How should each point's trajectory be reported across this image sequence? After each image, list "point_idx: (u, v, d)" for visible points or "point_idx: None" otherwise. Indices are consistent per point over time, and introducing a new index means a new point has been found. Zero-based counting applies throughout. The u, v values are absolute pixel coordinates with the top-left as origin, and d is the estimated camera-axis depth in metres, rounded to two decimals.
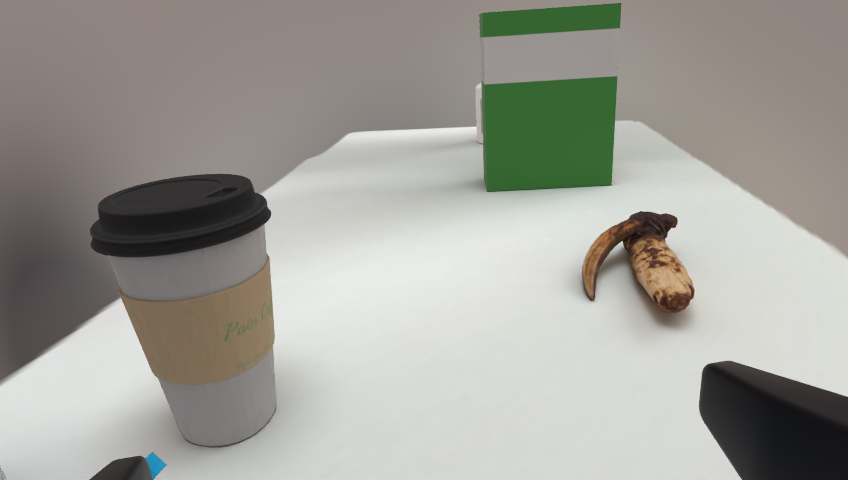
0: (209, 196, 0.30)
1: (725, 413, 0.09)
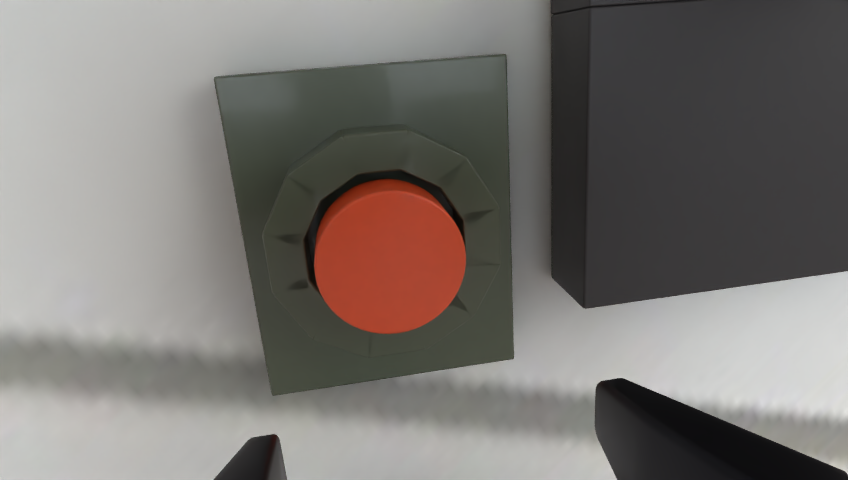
0: None
1: (613, 433, 0.09)
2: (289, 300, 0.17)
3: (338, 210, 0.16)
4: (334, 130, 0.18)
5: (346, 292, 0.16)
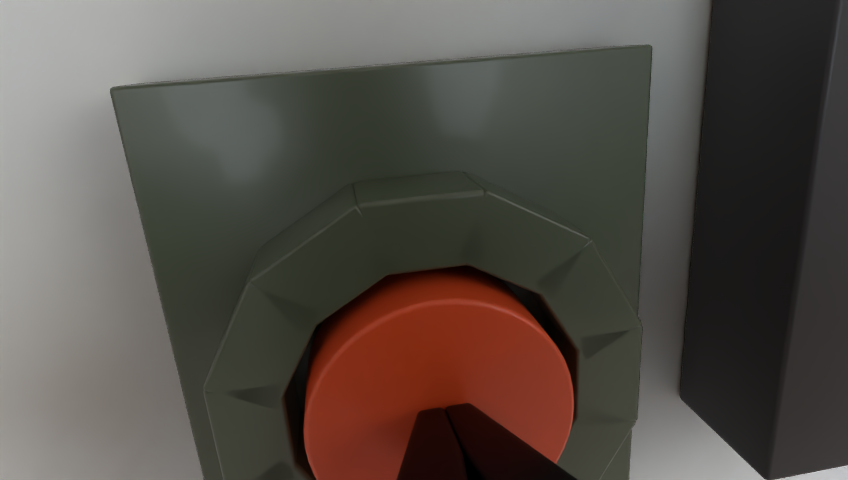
0: None
1: None
2: None
3: (348, 335, 0.08)
4: (340, 184, 0.10)
5: (361, 475, 0.09)
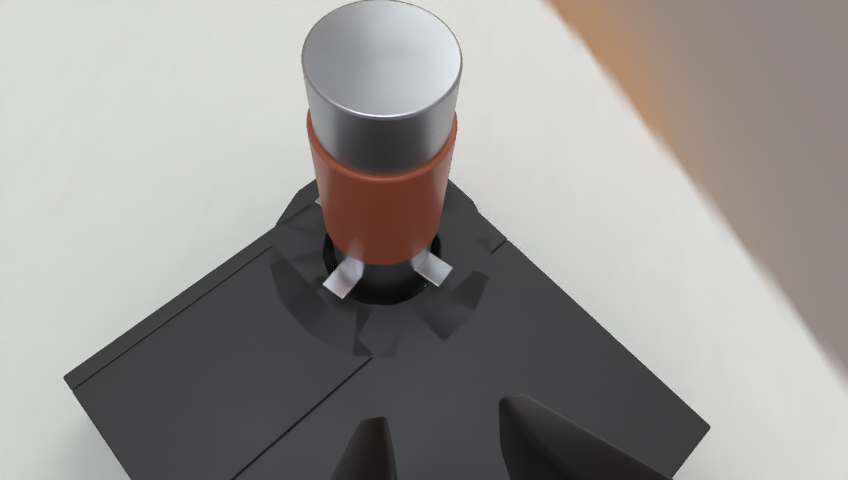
0: None
1: (511, 451, 0.08)
2: None
3: None
4: None
5: None
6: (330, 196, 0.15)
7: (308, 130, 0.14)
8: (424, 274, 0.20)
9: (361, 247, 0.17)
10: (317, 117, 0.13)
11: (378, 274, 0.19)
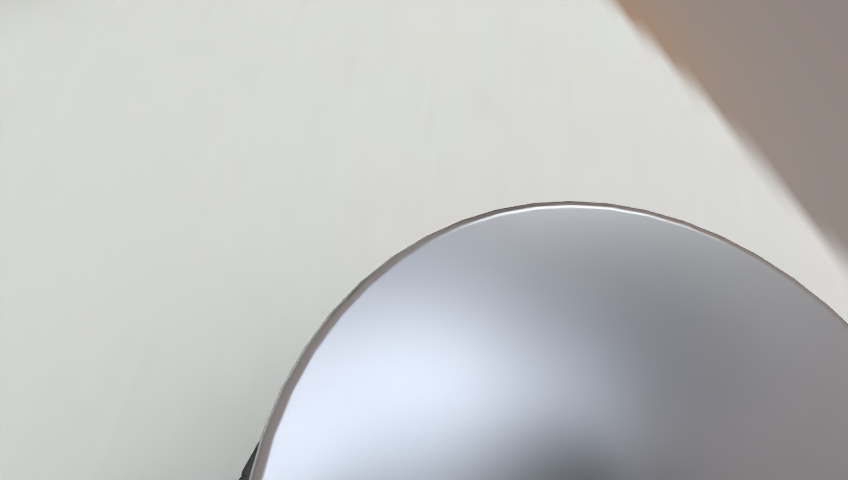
0: None
1: None
2: None
3: None
4: None
5: None
6: None
7: None
8: None
9: None
10: None
11: None
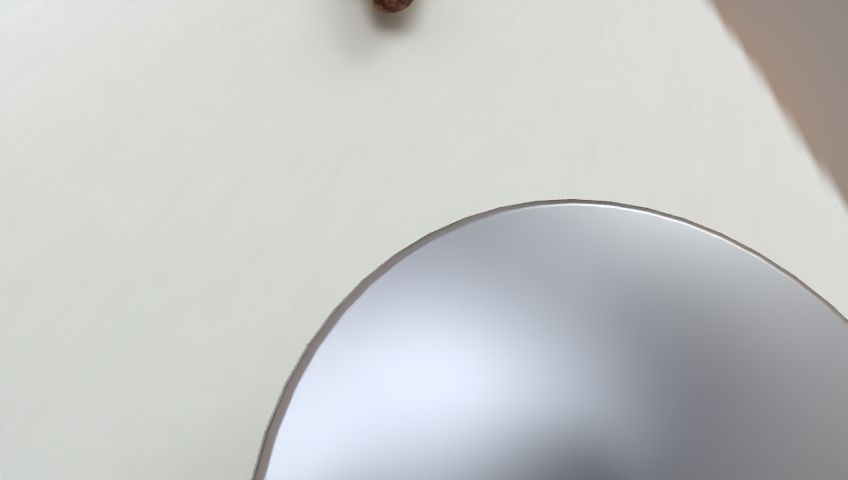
0: None
1: None
2: None
3: None
4: None
5: None
6: None
7: None
8: None
9: None
10: None
11: None
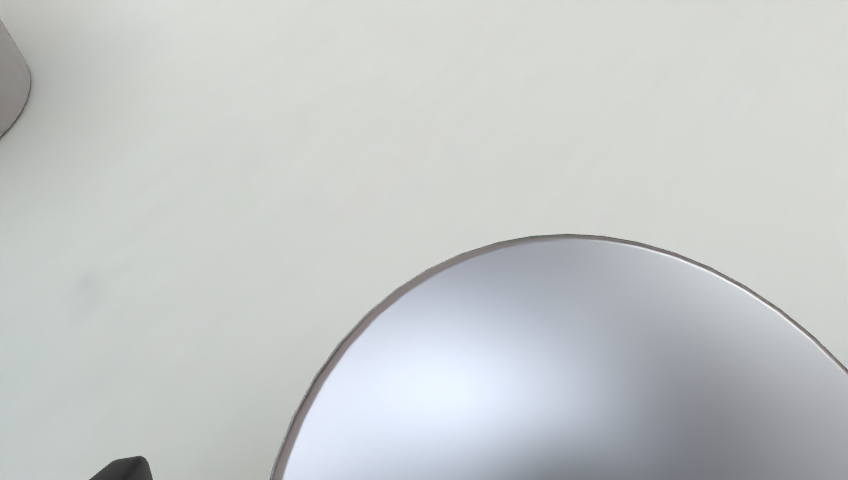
0: None
1: None
2: None
3: None
4: None
5: None
6: None
7: None
8: None
9: None
10: None
11: None
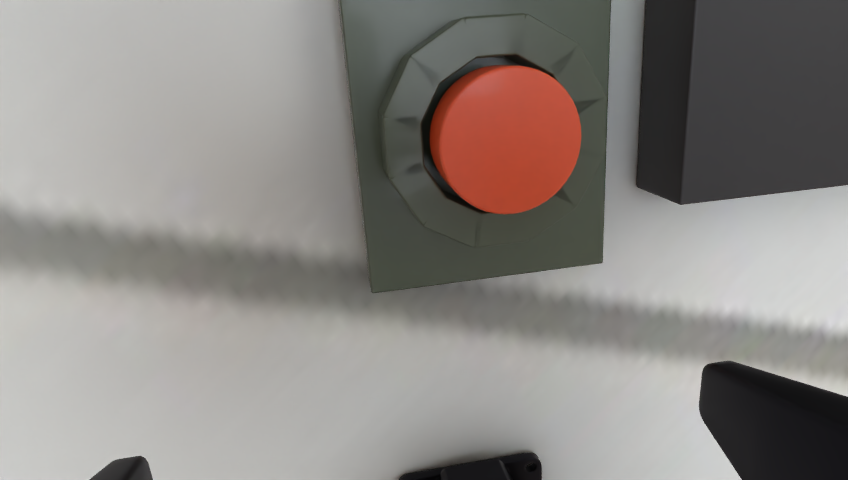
0: None
1: (725, 413, 0.09)
2: (404, 185, 0.18)
3: (464, 85, 0.16)
4: (446, 21, 0.18)
5: (467, 169, 0.17)
6: None
7: None
8: None
9: None
10: None
11: None
